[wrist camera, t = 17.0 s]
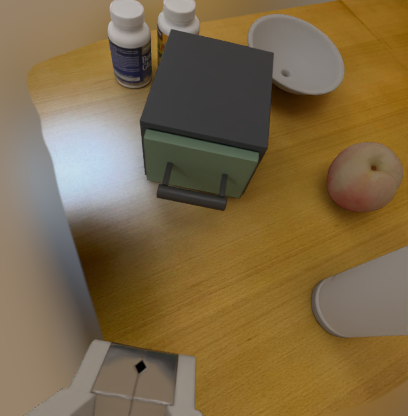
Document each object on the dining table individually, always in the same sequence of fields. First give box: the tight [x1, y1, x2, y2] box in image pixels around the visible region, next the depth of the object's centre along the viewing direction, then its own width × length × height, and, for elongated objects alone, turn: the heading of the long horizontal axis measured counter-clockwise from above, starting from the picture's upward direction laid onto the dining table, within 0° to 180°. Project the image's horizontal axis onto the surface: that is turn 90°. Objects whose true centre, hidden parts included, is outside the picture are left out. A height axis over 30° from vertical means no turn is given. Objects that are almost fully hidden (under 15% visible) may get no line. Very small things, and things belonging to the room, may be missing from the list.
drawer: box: [144, 129, 259, 211], centre depth 33 cm, size 18×11×8 cm, turn 171°
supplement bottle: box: [157, 0, 200, 66], centre depth 40 cm, size 6×6×10 cm
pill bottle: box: [108, 0, 152, 88], centre depth 38 cm, size 5×5×10 cm
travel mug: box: [311, 246, 408, 338], centre depth 23 cm, size 6×7×20 cm
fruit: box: [327, 142, 403, 212], centre depth 35 cm, size 8×8×8 cm
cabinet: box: [140, 29, 274, 194], centre depth 35 cm, size 15×13×10 cm
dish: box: [248, 14, 344, 95], centre depth 45 cm, size 18×14×5 cm
